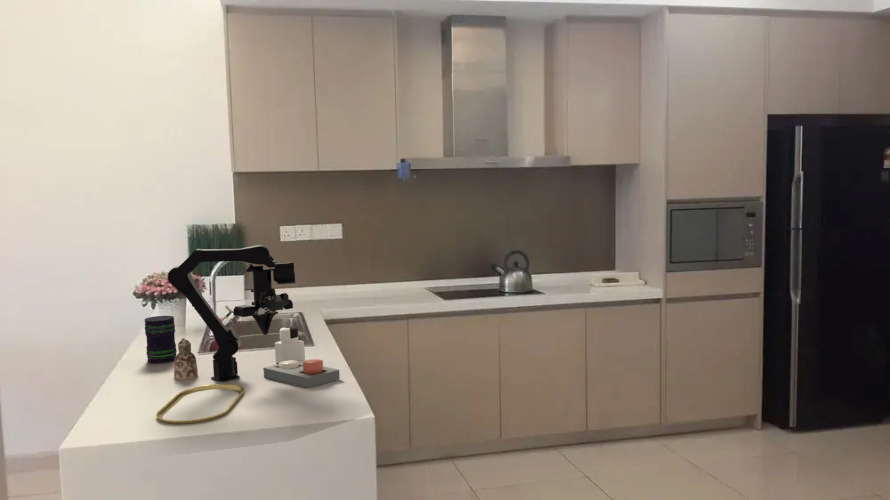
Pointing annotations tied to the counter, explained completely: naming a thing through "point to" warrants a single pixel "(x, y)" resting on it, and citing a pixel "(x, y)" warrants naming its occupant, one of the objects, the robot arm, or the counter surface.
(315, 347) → the counter surface
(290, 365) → the white button
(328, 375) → the grey holder tray
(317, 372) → the red button
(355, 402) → the counter surface
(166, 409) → the brass oval bangle
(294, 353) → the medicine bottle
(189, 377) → the figurine
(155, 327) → the storage jar
